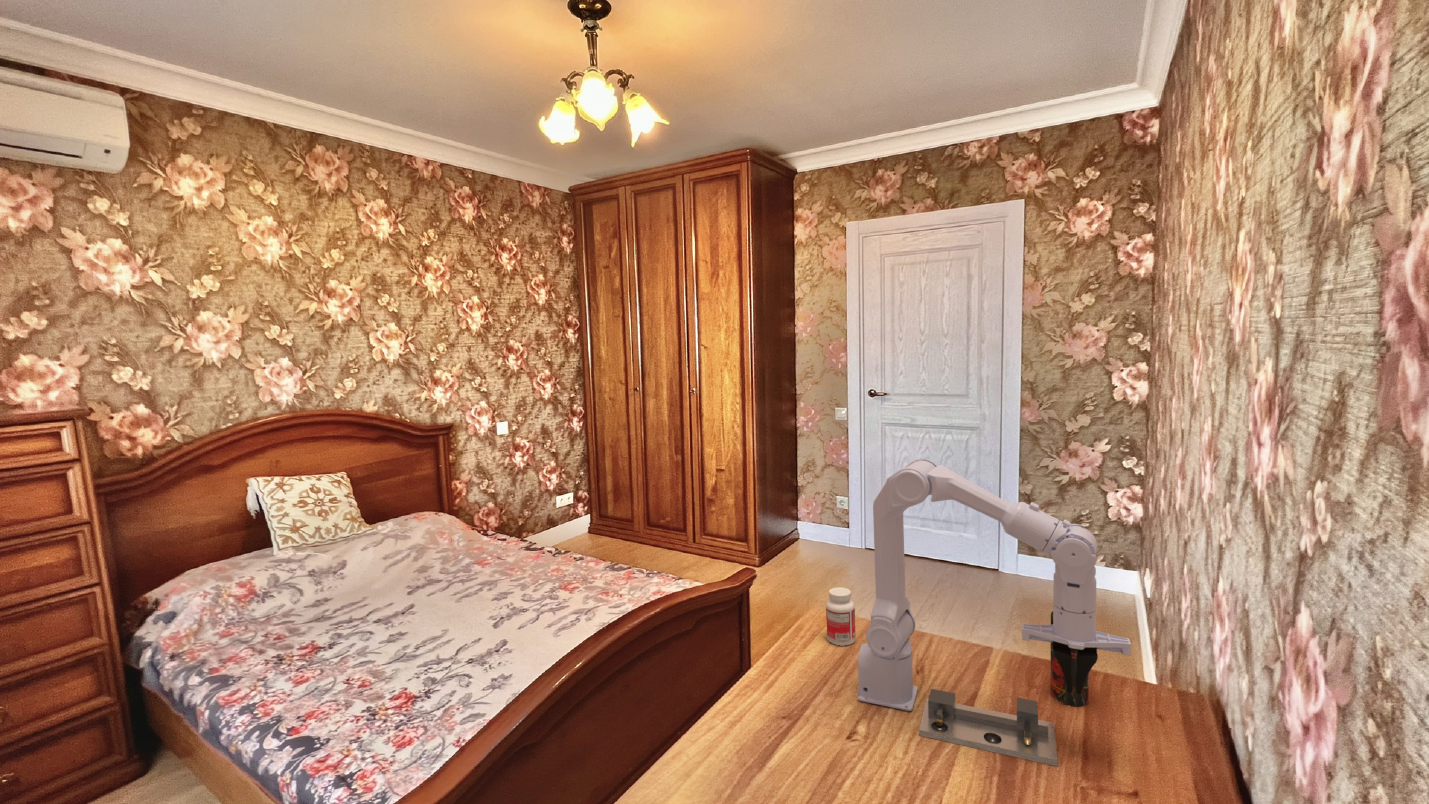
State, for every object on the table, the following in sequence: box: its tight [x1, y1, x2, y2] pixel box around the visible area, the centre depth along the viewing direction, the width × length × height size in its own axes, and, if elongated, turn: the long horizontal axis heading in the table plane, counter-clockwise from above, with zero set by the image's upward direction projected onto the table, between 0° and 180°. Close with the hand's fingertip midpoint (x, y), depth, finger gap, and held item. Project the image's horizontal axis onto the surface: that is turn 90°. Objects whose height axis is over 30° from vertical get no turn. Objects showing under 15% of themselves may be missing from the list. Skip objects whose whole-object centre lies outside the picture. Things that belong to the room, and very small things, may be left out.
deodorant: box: [1049, 610, 1090, 708], centre depth 110 cm, size 6×6×15 cm
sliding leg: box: [1016, 697, 1039, 745], centre depth 99 cm, size 3×6×4 cm, turn 154°
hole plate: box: [918, 697, 1059, 767], centre depth 102 cm, size 20×10×1 cm, turn 64°
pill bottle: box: [825, 586, 857, 647], centre depth 135 cm, size 6×6×11 cm
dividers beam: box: [928, 688, 1048, 738], centre depth 102 cm, size 18×6×3 cm, turn 64°
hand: (1073, 689), depth 97 cm, fingers closed
